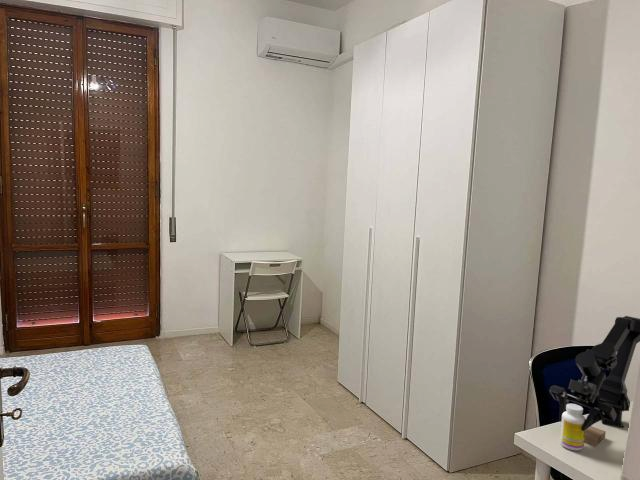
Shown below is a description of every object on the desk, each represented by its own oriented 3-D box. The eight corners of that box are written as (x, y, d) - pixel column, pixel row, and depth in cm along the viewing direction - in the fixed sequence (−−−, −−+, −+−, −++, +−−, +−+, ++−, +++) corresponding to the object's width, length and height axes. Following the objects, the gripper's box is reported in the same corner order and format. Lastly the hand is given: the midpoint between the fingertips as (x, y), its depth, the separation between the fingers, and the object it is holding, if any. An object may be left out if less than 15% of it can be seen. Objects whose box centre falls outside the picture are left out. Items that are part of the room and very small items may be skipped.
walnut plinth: (577, 428, 158) (578, 421, 158) (604, 438, 152) (605, 431, 152) (567, 436, 153) (567, 428, 153) (595, 447, 147) (595, 439, 146)
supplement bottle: (586, 452, 143) (590, 413, 141) (563, 450, 144) (566, 410, 143) (579, 441, 149) (582, 403, 148) (556, 438, 150) (560, 401, 149)
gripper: (554, 361, 154) (533, 401, 149) (616, 380, 139) (595, 425, 134) (564, 378, 159) (544, 418, 154) (624, 399, 144) (605, 443, 139)
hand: (570, 425), depth 145 cm, fingers closed on supplement bottle, 7 cm apart
